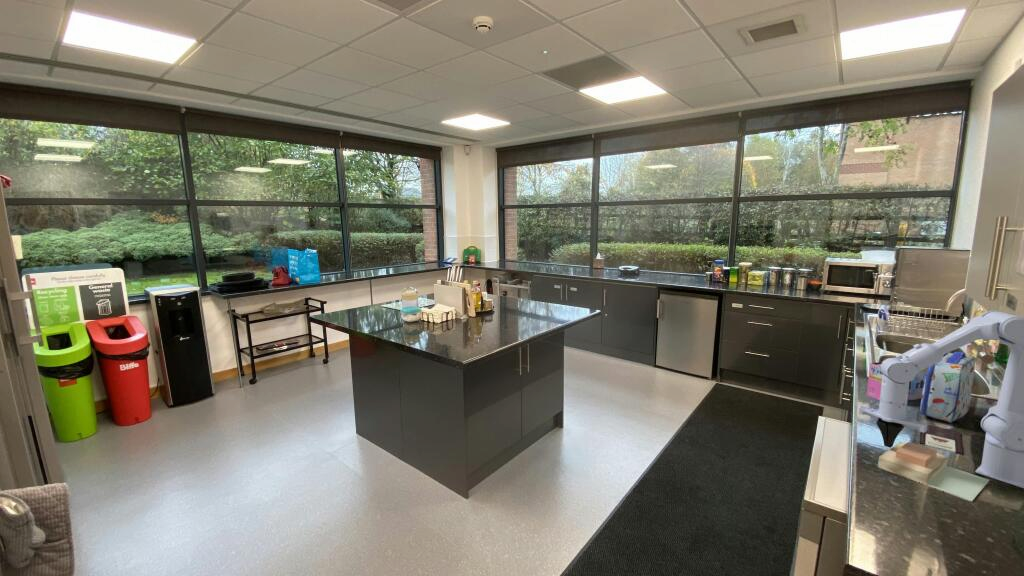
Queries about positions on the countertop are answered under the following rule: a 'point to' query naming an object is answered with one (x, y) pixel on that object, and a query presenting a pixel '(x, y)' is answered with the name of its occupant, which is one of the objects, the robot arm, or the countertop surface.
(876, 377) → the gum box
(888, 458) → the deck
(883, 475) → the countertop surface
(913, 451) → the tile
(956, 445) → the chocolate bar
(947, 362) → the lunch box
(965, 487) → the mat
